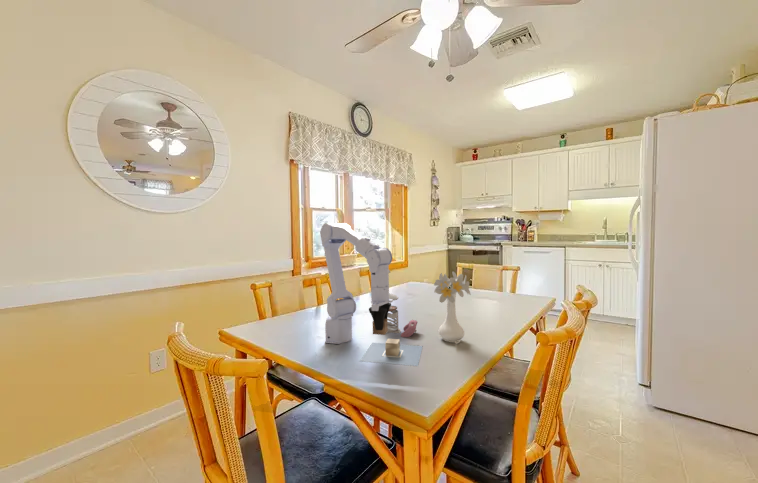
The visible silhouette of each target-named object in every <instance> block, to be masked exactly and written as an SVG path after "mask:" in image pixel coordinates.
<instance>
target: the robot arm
mask: <svg viewBox="0 0 758 483" xmlns="http://www.w3.org/2000/svg"><path fill="white" fill-rule="evenodd" d="M319 233H320V234H319V235H320V240H321V244H322V248H323V250H324V255H325V260H326V267H327V270H328V271H327V272H328V276H329V282H330V287H331V288H330V289H331V293H330V294H329V296H328V297H327V298H326V302H327V303H326V304H327V305H326V306H327V307H326V311H327V314H328V316H327V318H326V320H325V327H324V329H325V330H324V331H325V332H324V333H325V341H324V344H334V345H341V344H342V343H346V342H350V341H352V340H353V323H352V322H353V320H352V319H353V317H354V314H355V313H356V311H357V302H356V300H355V299H354V296H353V293H351V291H350V290H348V289H347V286H346V281H345V277H344V276H345V275H344V272H343V271H344V270H343V266H342V261H341V255H340V250H339V249H340V247H342V246H343V245H344V244H345V242H346V241H347V242H348V243H350V244H352V245H353V246H355V251H356V252H357V253H358V254H360V255H361V256H362V257H363V258H365V259H366V262H367V265H368V268H369V269H368V270H369V272H370V287H371V289H370V291H371V293H370V294H371V295H370V296H371V298H370V303H371V306H370V307H369V308H368V312H369V314H370V315H371V317H372V322H373V321H374V325H375V329H376V330H383V325H384V319H388V317H387V316H388V313H390V312H389V309H390V306H392V303H393V302H394V300H393V299H389V293H390V279H389V277H390V276H389V275H390V273H389V270H390V268H389V266H390V264H391V263H392V261H393V254H392V252H391V250H390V249H389V248H388V247H380V245H379V244H376V243H375V242H373V241H372V240H371V238H370V237H368V236H367V237H364V236H363V237H361V236H360V235H358V233H356V232H355V231H354V230H353V229H352V227H351V225H349V224H348V223H347V222H342V223H339V222H337V223H334V222H331V223H330V222H324V223H323V224H322V226H321V228H320V231H319Z"/></svg>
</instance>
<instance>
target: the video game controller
mask: <svg viewBox="0 0 758 483" xmlns="http://www.w3.org/2000/svg"><path fill="white" fill-rule="evenodd" d="M417 326H418V321H417V319H416V320H415V319H412V320H410V321H408V323H407V324H406V325H405V326H404V327H403V329H402V330H403V332H402V333H401V334H400V337H402V338H410V337H411V336H413V334H414V333H416V332H417Z"/></svg>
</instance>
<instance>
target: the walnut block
mask: <svg viewBox="0 0 758 483" xmlns="http://www.w3.org/2000/svg"><path fill="white" fill-rule="evenodd" d="M387 319H388V318H387ZM387 319H384V325H383V330H376V329H375V325H374V321H373V320H372V335H380V336H382V335H383V336H385V335H386V334H387V333H388V332H387V331H388V322H389V321H388V320H387Z"/></svg>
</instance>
